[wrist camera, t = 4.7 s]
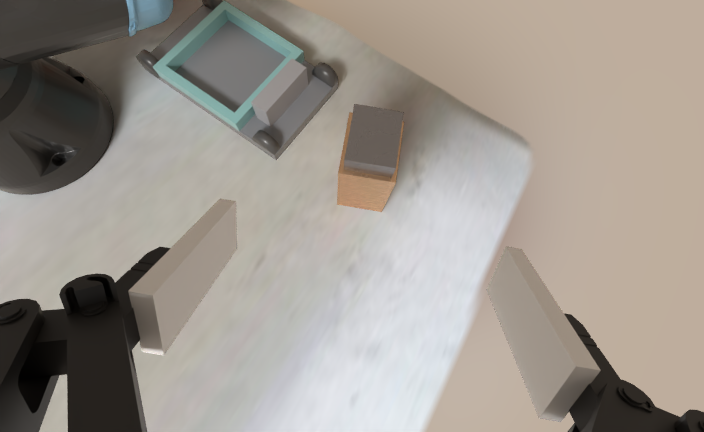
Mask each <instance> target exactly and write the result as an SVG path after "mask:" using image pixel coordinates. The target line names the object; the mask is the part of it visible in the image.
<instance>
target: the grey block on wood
mask: <svg viewBox="0 0 704 432" xmlns="http://www.w3.org/2000/svg"><path fill="white" fill-rule="evenodd" d="M403 113H404V112H399V111H393V110H387V109H382V108H376V107H370V106H364V105H358V104H354V110H353V113H351V112H350V113H349V118H348V123H347V129H346V134H345V140H344V145H343V150H342V156H341V161H340V167H339V172H338V197H337V204H338V205H344V206H350V207H355V208H361V209H367V210H373V211H379V212H382V210H383V208H384V206H385V204H386V202H387V200H388V198H389V196H390V194H391V192H392V190H393V188H394V186H395V184H396V178H397V171H398V163H399V156H400V148H401V141H402V133H403V126H404V122H403Z"/></svg>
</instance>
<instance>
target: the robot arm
mask: <svg viewBox="0 0 704 432" xmlns="http://www.w3.org/2000/svg"><path fill="white" fill-rule="evenodd" d="M172 9H173V0H0V190H2V191H5V192H9V193H14V194H39V193H45V192H49V191H52V190H55V189H58V188H61V187H63V186H66V185H68V184H70V183H71V182H73V181H75V180H76V179H78V178H80V177H81V176H82V175H84V174H85V173H86V172H87V171H88V170H90V169H91V168H92V167H93V166H94V165H95V163H96V162H97V161H98V160H99V159H100V157H101V156H102V154H103V153H104V151H105V150H106V148H107V146H108V143H109V141H110V138H111V135H112V130H113V114H112V110H111V106H110V104H109V102H108V100H107V98H106V97H105V95H104V94H103V93H102V91H101V90H100V89H99V88H98V87H96V86H95V85H94V84H93V83H92V82H91V81H90V80H89V79H88V78H87V77H85V76H84V75H83V74H81V73H80V72H78V71H77V70H75V69H73V68H71V67H69V66H67V65H65V64H63V63H61V62H59V61H57V60H55V59H52V58H50V56H53V55H57V54H61V53H65V52H68V51H72V50H76V49H79V48H83V47H87V46H91V45H94V44H98V43H102V42H105V41H109V40H113V39H117V38H120V37H124V36H129V37H130V36H133V35H135V34H136V32H137V31H139V30H142V29H145V28H148V27H151V26H154V25H157V24H160V23H162V22H164V21H165V20H167V19H168V18H169V16H170V14H171V12H172ZM236 249H237V222H236V201H231V200H225V199H219V200H218V201H217V202H216V203H215V204H214V205H213V206H212V207H211V208H210V209H209V211H208V212H207V213H206V214H205V215H204V216H203V217H202V218H201V219H200V220H199V221H198V222H197V223H196V224H195V225H194V226H193V227H192V228H191V229H190V230H189V231H188V232H187V233H186V234H185V235H184V236H183V237H182V238H181V239H180V240H179V241H178V242H177V243H176V244H175V245H174V246H173V247H172V248H165V247H159V248H157V249H155V250H153V251H151V252H149V253H147V254H146V255H145V256H144V257H143V258H142V259H140V260H139V261H138V263H136V264H135V265H134V266H133V267H132V268H131V270H129V271H127V272H126V273H125V274H124V275H123V276H122V277H121V278H120V279H119V280H118V281H117V282H116V283H115V282H114V280H113V279H112V277H110V276H108V275H106V274H91V275H85V276H82V277H79V278H76V279H74V280H72V281H71V282H69V283H67V284H66V285H65V286H64V287H63V288H62V289H61V292H60V294H59V295H60V298H61V300H62V303H63V306H64V309H59V310H45V311H42V310H41V308H40V305H39V304H38V303H37V302H36V301H34V300H31V299H17V300H13V301H8V302H5V303H3V304H0V432H39V430H40V427H41V424H42V421H43V419H44V416H45V413H46V410H47V408H48V405H49V402H50V399H51V397H52V394H53V391H54V388H55V386H56V383H57V380H58V378H59V375H64V374H67V382H68V432H147V428H146V423H145V417H144V412H143V407H142V401H141V396H140V391H139V385H138V380H137V374H136V369H135V364H134V358H133V354H132V349H133V348H134V347H135V345H136V344H137V343H138V342H139V340H140V345H141V349H142V352H147V353H153V354H159V355H165V353H166V352H167V350H168V349H169V347H170V346H171V344H172V343H173V341H174V340H175V339H176V337H177V336H178V334H179V333H180V331H181V330H182V328H183V327H184V325H185V324H186V322H187V321H188V320H189V318H190V317H191V315H192V314H193V312H194V311H195V309H196V308H197V306H198V305H199V303H200V302H201V301H202V299H203V298H204V296H205V295H206V293H207V292H208V290H209V289H210V287H211V286H212V284H213V283H214V282H215V280H216V279H217V277H218V276H219V274H220V273H221V271H222V270H223V268H224V267H225V265H226V264H227V263H228V261H229V260H230V258H231V257H232V255H233V254H234V252H235V251H236ZM487 292H488V295H489V297H490V300H491V302H492V305H493V307H494V310H495V312H496V314H497V317H498V319H499V322H500V324H501V327H502V329H503V331H504V334H505V336H506V339H507V341H508V344H509V346H510V349H511V351H512V353H513V356H514V358H515V361H516V363H517V366H518V368H519V371H520V373H521V376H522V378H523V380H524V383H525V385H526V388H527V390H528V392H529V395H530V397H531V400H532V402H533V405H534V407H535V410H536V412H537V414H538V417H539V418H540V419H546V420H552V421H558V422H561V421H562V420H563V419H564V417H565V416H566V415H567V413H568V412H570V414H571V416H572V418H573V420H574V422H575V423H574V424H573V426H572V427H571V428H570V429H569V431H568V432H704V412H701V411H698V410H688V411H687V412H686V413H685V414H684V415H683V416H682V417H678V416H676V415H674V414H671V413H669V412H666V411H664V410H662V409H659V408H657V407H655V406H654V404H653V402H652V401H651V399H650V398H649V397H648V396H647V395H646V394H645V393H644V392H643V391H641V390H640V389H638V388H637V387H636V386H634V385H633V384H631V383H629V382H626V381H624V380H621V379H620V378H619V377H618V375H617V374H616V372H615V371H614V369H613V368H612V366H611V365H610V364H609V362H608V361H607V359H606V358H605V356H604V355H603V353H602V352H601V351H600V349H599V348H597V345H596V343H595V342H594V340H593V339H591V338H590V337H591V336H590V335H589V333H588V332H587V330H586V329H585V327H584V326H583V325H582V324H581V323H580V322H579V321H578V320H576V319H575V318H574V317H573V316H572V315H570V314H564V313H563V312H562V310H561V309H560V307H559V306H558V304H557V302H556V301H555V300H554V298H553V296H552V295H551V293H550V292H549V290H548V289H547V287H546V286H545V284H544V283H543V281H542V280H541V278H540V277H539V275H538V273H537V272H536V270H535V269H534V267H533V266H532V264H531V263H530V261H529V260H528V258H527V257H526V255H525V253H524V252H523V250H522V249H518V248H512V247H505V250H504V252H503V254H502V256H501V259H500V261H499V263H498V265H497V268H496V270H495V272H494V275H493V277H492V279H491V281H490V284H489V286H488V288H487Z"/></svg>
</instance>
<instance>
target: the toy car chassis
mask: <svg viewBox="0 0 704 432" xmlns="http://www.w3.org/2000/svg"><path fill="white" fill-rule="evenodd" d="M202 2H203V4H204V5H202V6H201V7H200V8H199V9H198V10H197V11H196V12H195V13H194V14H193V15H191V16H190V17H189V18H188V19H187V20H186V21H185V22H184V23H183V24H182V25H181V26H179V27H178V28H177V29H176V30H175V31H174V32H173V33H172V34H171V35H170V36H168V37H167V38H166V39H165V40H164V41H163V42H162V43H161V44H160V45H159V46H158V47H156V48H155V49H154V50H153V51H152V52H151V53H150V52H148V51H147V50H142V51H141V52H140V53H139V54H138V55H137V56H136V58H137V59H138V61H139V62H140V63H141V64H142V66H143V67H144V68H145V69H146V70H147V71H148V72H150V73H151V74H153V75H154V76H156V77H157V78H159V79H160V80H161V81H163V82H164V83H166V84H167V85H169V86H170V87H172V88H173V89H174V90H176V91H177V92H179V93H180V94H182V95H183V96H185V97H186V98H187V99H189V100H190V101H192V102H193V103H195V104H196V105H198V106H199V107H200V108H202V109H203V110H205V111H206V112H208V113H209V114H211V115H212V116H213V117H215V118H216V119H218V120H219V121H221V122H222V123H224V124H225V125H226V126H228V127H229V128H231V129H232V130H234V131H235V132H237V133H238V134H239V135H241V136H242V137H244V138H245V139H247V140H248V141H250V142H251V143H252V144H254V145H255V146H257V147H258V148H260V149H261V150H263V151H264V152H265V153H267V154H268V155H270V156H271V157H273V158H274V159H276V160H277V159H278V157H279V156H280V155H281V154H282V153H283V152H284V150H285V149H286V148H287V147H288V146H289V145H290V143H291V142H292V141H293V140H294V139H295V137H296V136H297V135H298V134H299V133H300V132H301V130H302V129H303V128H304V127H305V126H306V125H307V123H308V122H309V121H310V120H311V119H312V118H313V116H314V115H315V114H316V113H317V112H318V111H319V109H320V108H321V107H322V106H323V105H324V103H325V102H326V101H327V100H328V99H329V98H330V96H331V95H332V94H333V93H334V92H335V91H336V89H337V88H338V77H337V75H336V73H335V71H334V70H333V69H332V68H331V67H330V66H329V65H327V64H325V63H322V62H321V63H319V64H318V65H317V66H316V67H314V66H313V65H311V64H310V63H308V62H307V61H305V60H304V52H303V50H301V49H299V48H298V47H296V46H295V45H293V44H292V43H290V42H288V41H287V40H285V39H284V38H282V37H281V36H279V35H278V34H276V33H274V32H273V31H271V30H270V29H268V28H267V27H265V26H263V25H262V24H260V23H259V22H257V21H256V20H254V19H252V18H251V17H249V16H248V15H246V14H245V13H243V12H242V11H240V10H238V9H237V8H235V7H234V6H232V5H231V4H229V3H227V2H226V1H222V0H202Z"/></svg>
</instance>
